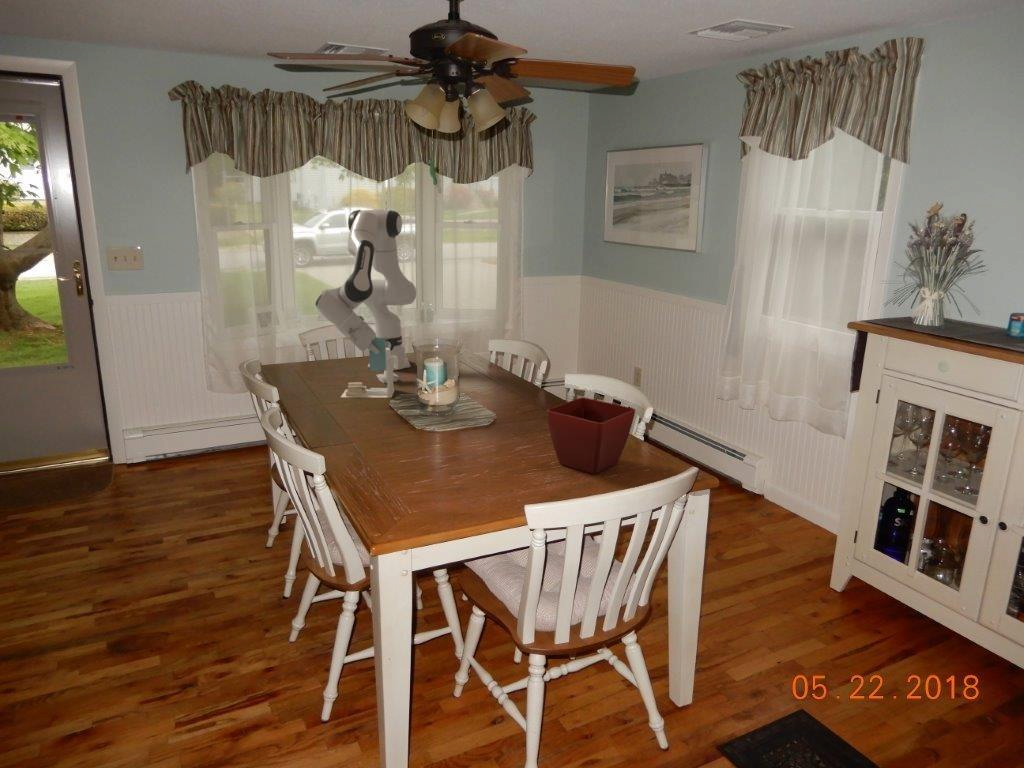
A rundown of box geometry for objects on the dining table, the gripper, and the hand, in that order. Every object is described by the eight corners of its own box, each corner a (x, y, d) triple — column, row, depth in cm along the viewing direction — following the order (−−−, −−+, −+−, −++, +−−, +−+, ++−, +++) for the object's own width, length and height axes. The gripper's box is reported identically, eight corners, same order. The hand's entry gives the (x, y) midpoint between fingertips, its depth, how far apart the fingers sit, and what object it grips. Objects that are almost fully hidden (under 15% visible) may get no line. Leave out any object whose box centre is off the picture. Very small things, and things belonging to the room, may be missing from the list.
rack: (346, 393, 279) (344, 355, 275) (394, 393, 280) (393, 355, 276) (340, 401, 268) (338, 362, 264) (391, 401, 269) (390, 362, 265)
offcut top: (348, 387, 275) (348, 382, 274) (362, 386, 276) (362, 382, 275) (347, 391, 269) (347, 387, 268) (362, 391, 270) (361, 386, 269)
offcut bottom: (349, 390, 277) (349, 385, 277) (366, 390, 277) (366, 386, 277) (345, 396, 269) (345, 391, 269) (363, 396, 270) (363, 391, 269)
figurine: (401, 384, 292) (401, 348, 288) (380, 387, 287) (378, 351, 283) (395, 380, 298) (394, 345, 294) (373, 383, 293) (372, 347, 289)
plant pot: (580, 447, 224) (582, 396, 219) (633, 462, 212) (636, 408, 208) (543, 464, 209) (544, 409, 205) (598, 481, 198) (601, 423, 193)
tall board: (370, 369, 272) (369, 338, 269) (386, 369, 273) (385, 338, 269) (369, 370, 271) (368, 339, 267) (385, 370, 271) (384, 339, 268)
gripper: (352, 325, 256) (381, 352, 259) (362, 315, 276) (388, 340, 279) (340, 337, 257) (369, 364, 260) (350, 326, 277) (377, 351, 280)
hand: (379, 351), depth 270 cm, fingers closed on tall board, 2 cm apart
